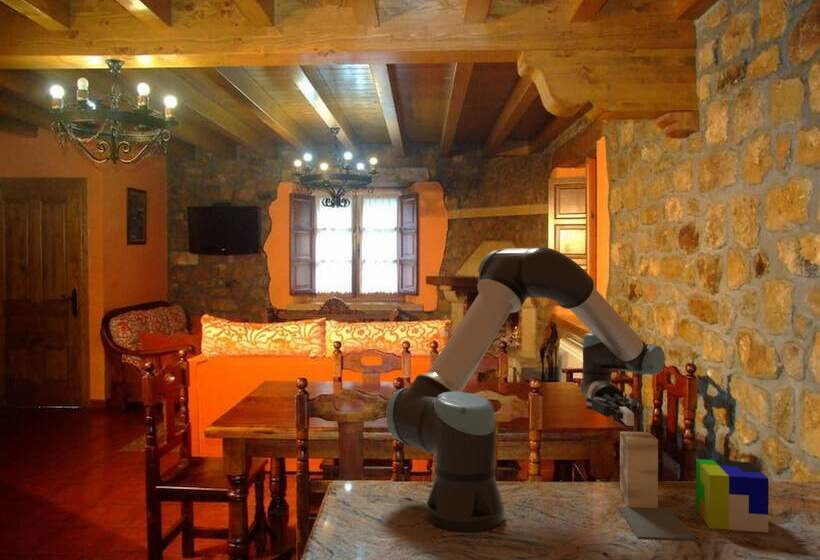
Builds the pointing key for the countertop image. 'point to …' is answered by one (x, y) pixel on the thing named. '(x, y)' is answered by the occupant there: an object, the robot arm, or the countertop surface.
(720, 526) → the puzzle toy
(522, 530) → the countertop surface
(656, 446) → the beech block
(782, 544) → the countertop surface
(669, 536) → the rubber mat
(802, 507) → the countertop surface
